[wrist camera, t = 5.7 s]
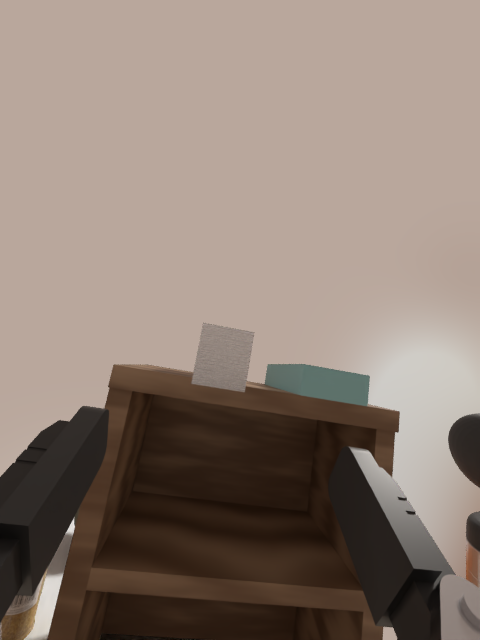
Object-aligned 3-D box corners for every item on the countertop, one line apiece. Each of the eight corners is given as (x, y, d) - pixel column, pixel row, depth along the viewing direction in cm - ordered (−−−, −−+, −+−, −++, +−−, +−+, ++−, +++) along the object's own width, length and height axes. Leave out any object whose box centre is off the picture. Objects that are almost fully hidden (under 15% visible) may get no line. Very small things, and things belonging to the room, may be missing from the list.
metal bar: (196, 373, 37) (201, 344, 38) (221, 378, 38) (226, 349, 38) (191, 383, 18) (203, 322, 18) (244, 392, 18) (254, 332, 19)
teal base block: (264, 384, 41) (267, 364, 42) (309, 391, 42) (311, 372, 42) (300, 395, 27) (303, 364, 27) (367, 406, 27) (369, 375, 28)
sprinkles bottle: (38, 612, 34) (68, 495, 37) (25, 648, 30) (60, 513, 33) (-7, 618, 33) (27, 495, 35) (-27, 657, 29) (14, 514, 31)
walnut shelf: (89, 620, 34) (147, 364, 40) (302, 634, 37) (327, 394, 43) (-3, 832, 19) (113, 364, 25) (375, 827, 22) (399, 411, 28)
